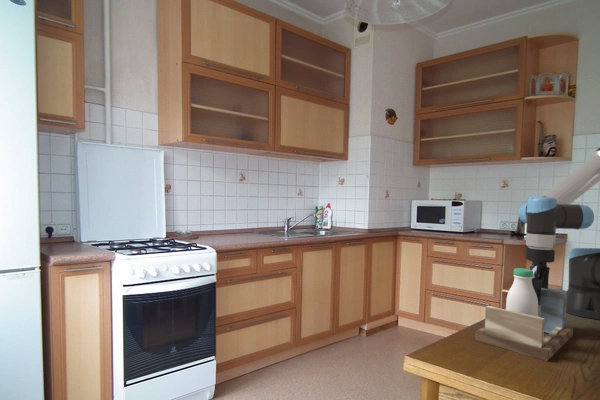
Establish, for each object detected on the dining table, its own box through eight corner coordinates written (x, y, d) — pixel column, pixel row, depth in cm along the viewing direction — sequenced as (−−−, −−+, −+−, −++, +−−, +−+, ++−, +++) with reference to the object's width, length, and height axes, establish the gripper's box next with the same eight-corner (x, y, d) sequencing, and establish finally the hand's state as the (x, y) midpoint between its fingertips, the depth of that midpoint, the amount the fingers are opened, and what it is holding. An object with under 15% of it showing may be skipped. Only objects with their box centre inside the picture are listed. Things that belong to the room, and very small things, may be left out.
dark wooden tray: (508, 320, 123) (509, 312, 123) (572, 335, 111) (573, 327, 111) (475, 339, 105) (475, 331, 105) (547, 361, 93) (547, 351, 93)
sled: (514, 320, 122) (516, 283, 122) (565, 333, 112) (566, 292, 112) (484, 339, 105) (486, 296, 105) (540, 355, 95) (542, 307, 95)
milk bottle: (541, 348, 101) (544, 273, 100) (510, 345, 102) (513, 271, 102) (530, 337, 108) (533, 267, 108) (500, 334, 110) (503, 265, 109)
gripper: (534, 244, 124) (531, 315, 124) (516, 248, 112) (513, 327, 112) (561, 247, 118) (558, 321, 119) (546, 251, 107) (542, 334, 107)
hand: (536, 324), depth 116 cm, fingers closed on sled, 4 cm apart
